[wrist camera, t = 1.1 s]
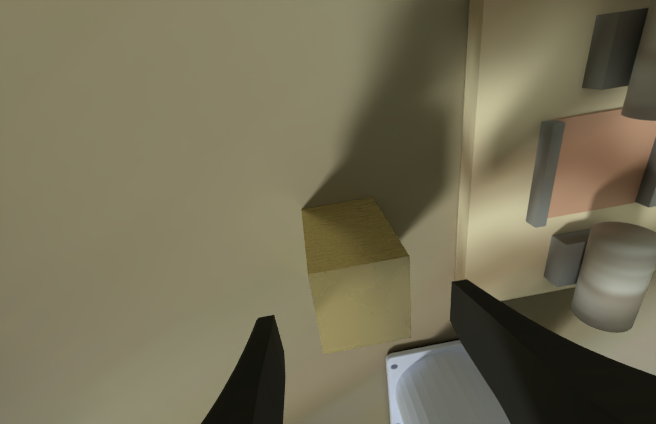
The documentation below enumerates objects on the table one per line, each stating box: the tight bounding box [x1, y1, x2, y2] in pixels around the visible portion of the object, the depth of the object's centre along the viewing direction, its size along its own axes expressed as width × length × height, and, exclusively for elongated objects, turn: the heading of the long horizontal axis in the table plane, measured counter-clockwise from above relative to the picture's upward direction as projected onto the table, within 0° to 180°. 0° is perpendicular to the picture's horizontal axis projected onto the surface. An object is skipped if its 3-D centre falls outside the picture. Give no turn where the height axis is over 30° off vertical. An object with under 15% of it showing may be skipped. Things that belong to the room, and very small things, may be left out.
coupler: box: [301, 197, 411, 354], centre depth 16 cm, size 4×4×6 cm
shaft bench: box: [455, 0, 656, 333], centre depth 16 cm, size 17×14×5 cm
